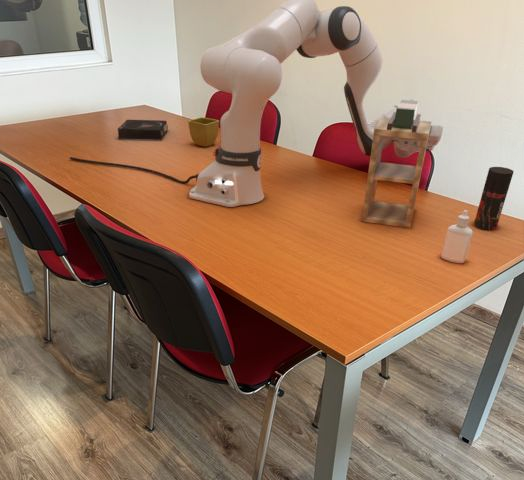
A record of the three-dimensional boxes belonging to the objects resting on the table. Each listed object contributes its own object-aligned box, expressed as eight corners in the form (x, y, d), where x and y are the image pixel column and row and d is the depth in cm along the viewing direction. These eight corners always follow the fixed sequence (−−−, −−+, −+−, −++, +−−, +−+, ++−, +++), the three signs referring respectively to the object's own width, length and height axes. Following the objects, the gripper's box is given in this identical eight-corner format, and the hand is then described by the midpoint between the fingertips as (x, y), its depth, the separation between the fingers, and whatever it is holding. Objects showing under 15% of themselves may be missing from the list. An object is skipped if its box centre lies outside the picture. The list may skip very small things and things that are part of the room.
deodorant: (494, 231, 137) (511, 175, 128) (471, 226, 140) (486, 170, 131) (498, 224, 141) (515, 169, 132) (476, 220, 144) (491, 165, 135)
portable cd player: (161, 140, 205) (160, 130, 203) (119, 139, 205) (117, 128, 203) (168, 130, 219) (167, 120, 216) (128, 129, 219) (127, 119, 216)
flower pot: (220, 144, 202) (219, 120, 197) (206, 149, 196) (205, 124, 191) (202, 141, 206) (201, 117, 201) (188, 145, 200) (187, 120, 195)
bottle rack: (361, 221, 141) (375, 122, 126) (368, 204, 152) (382, 111, 137) (409, 228, 138) (429, 127, 123) (413, 210, 149) (432, 115, 134)
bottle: (411, 129, 127) (414, 109, 125) (393, 127, 128) (396, 108, 126) (417, 113, 143) (420, 95, 140) (401, 111, 144) (404, 94, 141)
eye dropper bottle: (454, 265, 120) (467, 216, 113) (437, 256, 124) (449, 208, 117) (468, 262, 122) (482, 213, 115) (451, 253, 126) (463, 205, 119)
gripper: (377, 124, 167) (375, 108, 154) (442, 130, 162) (446, 114, 149) (373, 144, 168) (371, 130, 154) (437, 151, 163) (441, 137, 149)
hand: (408, 122), depth 151 cm, fingers open, 8 cm apart
